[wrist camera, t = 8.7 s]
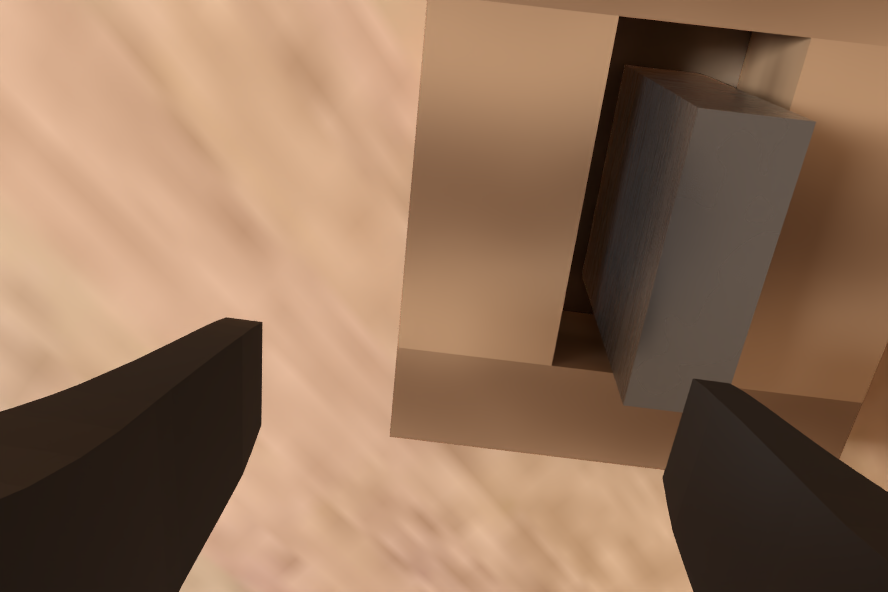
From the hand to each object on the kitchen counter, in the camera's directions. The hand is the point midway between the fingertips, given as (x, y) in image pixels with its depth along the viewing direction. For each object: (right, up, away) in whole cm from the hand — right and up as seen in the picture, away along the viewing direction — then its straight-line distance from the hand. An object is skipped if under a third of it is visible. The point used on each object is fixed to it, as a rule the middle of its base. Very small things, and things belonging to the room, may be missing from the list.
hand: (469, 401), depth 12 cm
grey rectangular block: (+5, +5, +8) cm, 10 cm away
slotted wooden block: (+5, +5, +8) cm, 10 cm away
